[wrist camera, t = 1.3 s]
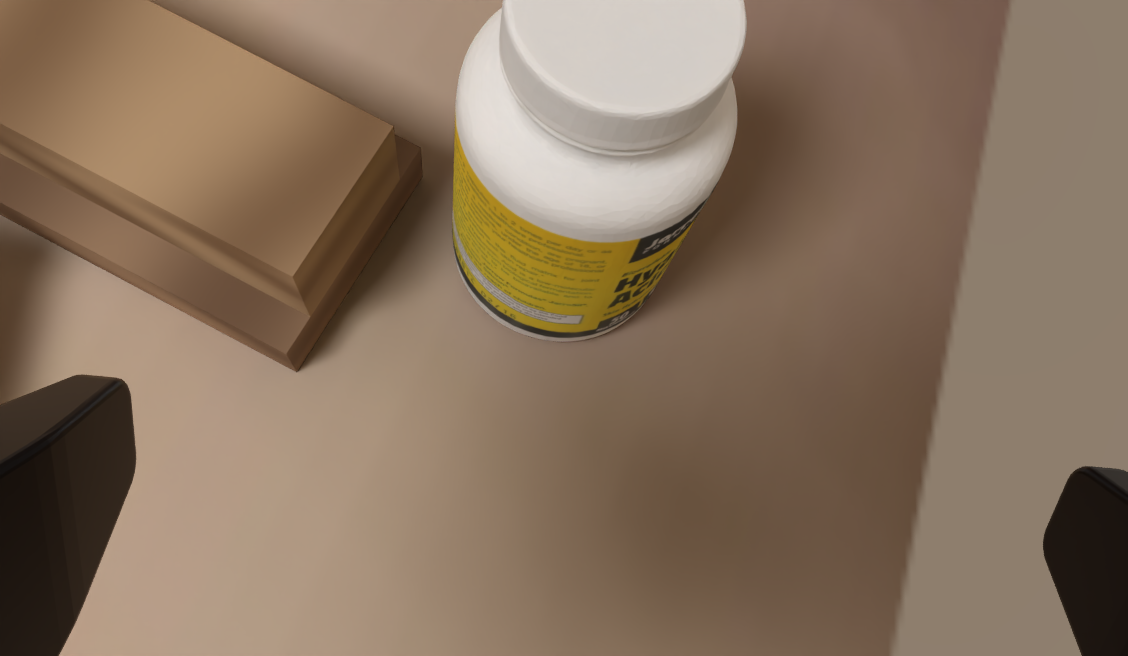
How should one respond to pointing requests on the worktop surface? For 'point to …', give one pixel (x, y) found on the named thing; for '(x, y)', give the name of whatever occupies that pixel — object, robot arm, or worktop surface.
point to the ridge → (193, 167)
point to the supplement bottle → (588, 153)
